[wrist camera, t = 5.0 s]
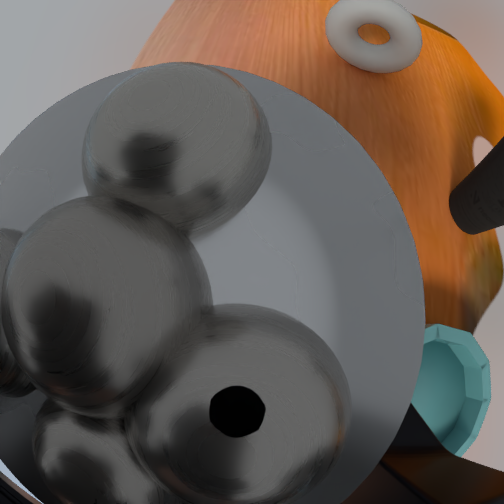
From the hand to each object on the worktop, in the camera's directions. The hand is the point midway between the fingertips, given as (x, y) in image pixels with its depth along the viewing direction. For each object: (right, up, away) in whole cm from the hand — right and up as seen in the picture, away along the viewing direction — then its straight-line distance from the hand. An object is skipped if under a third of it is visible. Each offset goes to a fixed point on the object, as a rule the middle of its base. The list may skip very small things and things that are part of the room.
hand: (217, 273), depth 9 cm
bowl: (+14, -12, +10) cm, 21 cm away
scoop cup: (0, -3, +5) cm, 6 cm away
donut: (+13, +21, +18) cm, 30 cm away
